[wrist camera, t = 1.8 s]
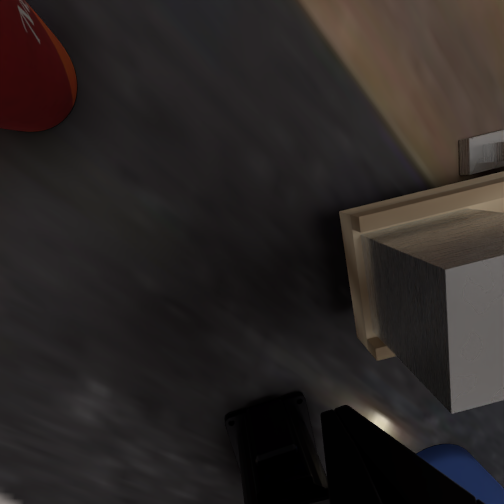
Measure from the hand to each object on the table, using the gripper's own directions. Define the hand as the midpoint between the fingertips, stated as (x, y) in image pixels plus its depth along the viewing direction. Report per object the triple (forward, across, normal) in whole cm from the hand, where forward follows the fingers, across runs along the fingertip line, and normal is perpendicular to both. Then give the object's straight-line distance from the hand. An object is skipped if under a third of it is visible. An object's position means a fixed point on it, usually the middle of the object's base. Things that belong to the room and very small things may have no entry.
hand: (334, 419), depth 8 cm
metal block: (+7, -8, 0) cm, 11 cm away
